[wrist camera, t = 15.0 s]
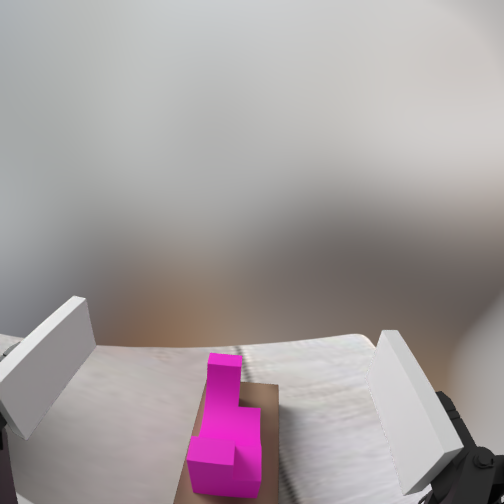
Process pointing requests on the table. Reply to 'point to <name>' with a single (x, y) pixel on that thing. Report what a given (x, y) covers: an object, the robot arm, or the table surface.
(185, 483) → the base brick
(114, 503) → the table surface
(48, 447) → the table surface
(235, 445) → the toy block
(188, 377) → the table surface
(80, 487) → the table surface
